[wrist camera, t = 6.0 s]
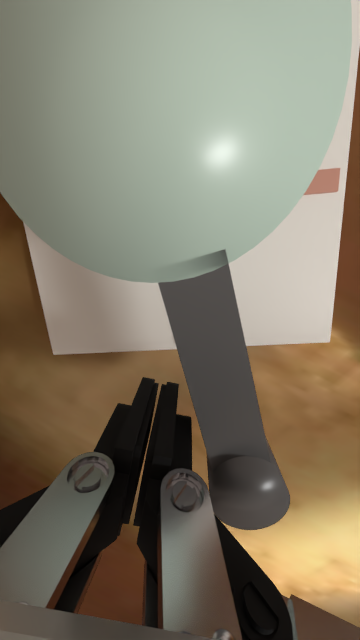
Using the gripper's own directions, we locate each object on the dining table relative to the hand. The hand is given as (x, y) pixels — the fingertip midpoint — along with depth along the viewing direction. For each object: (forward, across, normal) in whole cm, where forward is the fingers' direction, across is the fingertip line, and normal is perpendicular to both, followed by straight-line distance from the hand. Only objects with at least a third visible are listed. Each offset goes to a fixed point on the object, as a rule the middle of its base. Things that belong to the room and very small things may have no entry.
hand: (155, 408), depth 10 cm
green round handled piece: (+2, 0, -6) cm, 7 cm away
